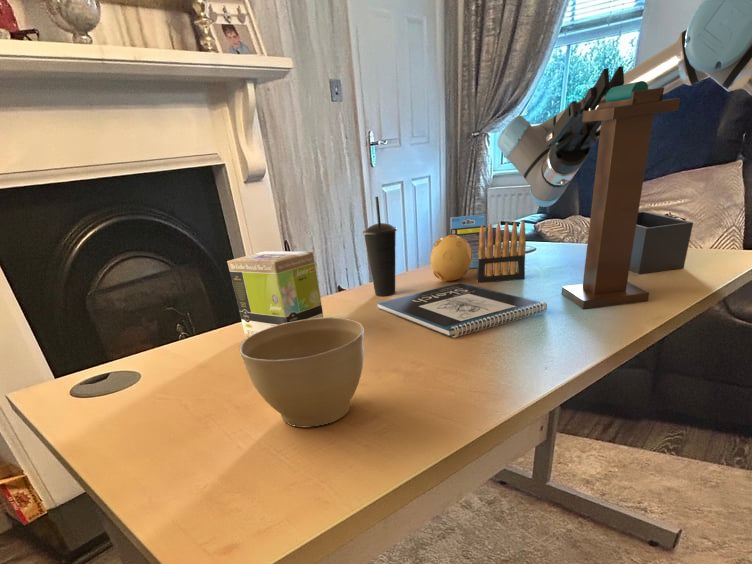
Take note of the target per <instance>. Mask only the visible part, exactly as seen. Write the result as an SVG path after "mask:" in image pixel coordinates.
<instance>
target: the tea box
mask: <svg viewBox="0 0 752 564" xmlns="http://www.w3.org/2000/svg"><path fill="white" fill-rule="evenodd" d="M226 263H227V266H228V270H229V276H230V278H231V283H232V287H233V291H234V296H235V299H236V304H237V307H238V312H239V315H240V319H241V324H242V327H243V328H242V329H243V331H244V335H245V334H249V335H253V334H255V333H257V332H259V331H262V330H264V329H267V328H270V327H273V326H276V325H280V324H283V323H288V322H293V321H299V320H305V319H312V318H325V316H324V312H323V305H322V299H321V294H320V285H319V280H318V275H317V267H316V262H315V256H314V251H311V250H309V251H296V250H295V251H293V250H291V251H288V250H285V251H283V250H278V251H277V250H275V251H273V250H271V251H270V250H269V251H267V250H266V251H261V252H257V253H252V254H248V255H245V256H241V257H238V258H233V259H230V260H227V261H226Z"/></svg>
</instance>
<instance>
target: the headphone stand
mask: <svg viewBox="0 0 752 564" xmlns="http://www.w3.org/2000/svg"><path fill="white" fill-rule="evenodd" d="M663 93H664V87H662V88H655V89H648V90H641V91H634V92H632V97H631V99H625V100H618V101H612V102H605V103H600V104H599V109H597V110H590V111H583V118H582V122H589V121H601V129H600V138H599V139H598V147H597V154H596V155H597V156H596V157H597V158H596V164H595V165H596V166H595V174H594V182H593V192H592V200H591V209H590V218H589V227H588V235H587V244H586V253H585V261H584V270H583V280H582V283H579V284H570V285H564V286H563V285H562V287H561V295H562V296H564V297H565V298H566V299H568V300H569V301H571V302H572V303H574V304H575V305H576V306H578V307H579V308H580V309H582V310H588V309H596V308H604V307H611V306H619V305H626V304H627V305H628V304H636V303H642V302H648V301H649V297H650V291H648V290H644V289H643V288H641V287H639V286H637V285H635V284H633V283H631V282H629V281H628V280H629V275H630V274H629V273H630V270H629V268H630V262H631V255H632V249H633V243H634V236H635V230H636V224H637V218H638V212H640V205H641V199H642V198H641V197H642V192H643V186H644V180H645V174H646V167H647V161H648V154H649V148H650V147H649V146H650V140H651V134H652V129H653V124H654V123H653V122H654V116H655V114H661V113H669V112H674V111H679V107H680V101H681V98H680V97H678V98H677V97H676V98H670V99H669V98H668V99H663V98H664V95H663Z"/></svg>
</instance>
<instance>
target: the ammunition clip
mask: <svg viewBox="0 0 752 564" xmlns="http://www.w3.org/2000/svg"><path fill="white" fill-rule="evenodd" d="M501 228H502V227H501V224H500V222H497V223H496V229H495V238H494V231H493V225H492V224H491V223H489V225H488V228H487V234H486V245H485V232H484V227H483V224H482V225H481V228H480V234H479V246H478V268H477V283H479V282H480V283H492V282H491V281H493V282H504V281H506V282H507V281H517V280H518V281H519V280H525V278H526V244H527V242H526V241H527V240H526V224H525V221H524V220H522V221H521V223H520V228H519V235H518V224H517V222H516V221H515V220H514V221H513V224H512V228H511V236H510V229H509V223H508V221H506V222H505V224H504V227H503V238H502V229H501ZM518 236H519V237H518ZM485 264H486V266H485ZM480 283H479V284H480Z"/></svg>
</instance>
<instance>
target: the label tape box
mask: <svg viewBox="0 0 752 564" xmlns="http://www.w3.org/2000/svg"><path fill="white" fill-rule="evenodd" d="M467 221H469V222H473V223H464V222H467ZM486 221H487V214H486V213H483V214H475V215H474V214H473V215H463V216H451V217H450V230H449V231H450V234H449V235H457V236H459V237H461V238H463V239H465V240H466V241H467V242H468V244H469V246H470V248H471V250H472V261H471V265H470V267H469V269H470V268H471V269H478V246H479V234H480V228H481V225H482V224H483V227H484V232H485V245H487V224H486V223H487V222H486ZM463 223H464V224H463ZM485 267H486V264H485ZM469 269H468V270H469Z"/></svg>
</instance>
